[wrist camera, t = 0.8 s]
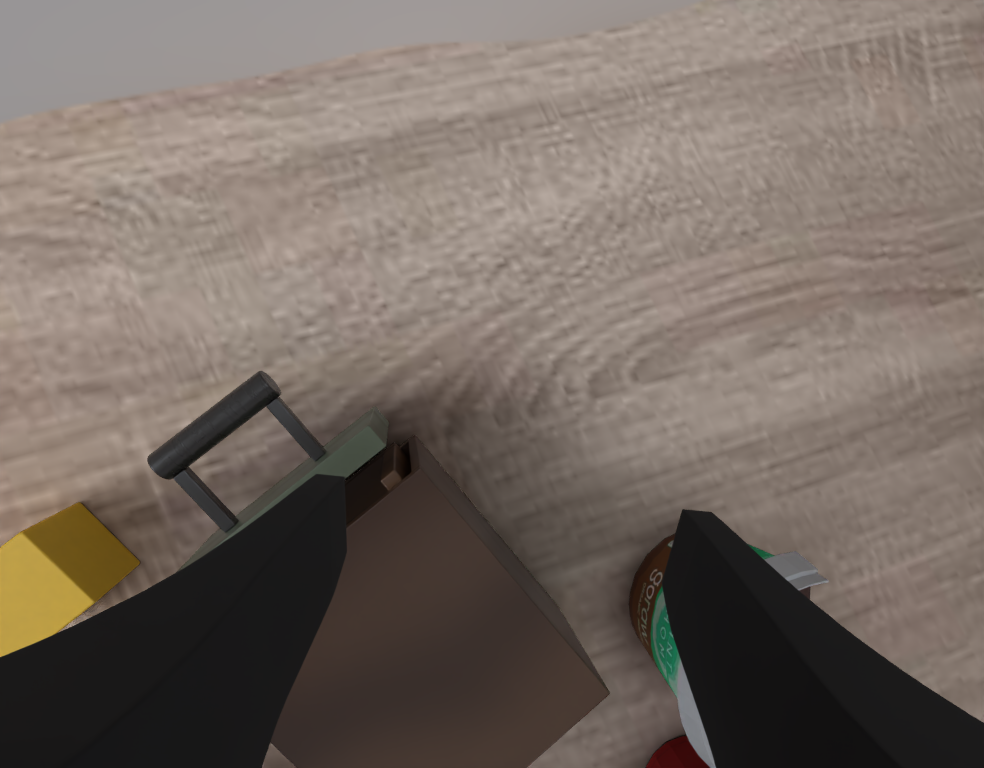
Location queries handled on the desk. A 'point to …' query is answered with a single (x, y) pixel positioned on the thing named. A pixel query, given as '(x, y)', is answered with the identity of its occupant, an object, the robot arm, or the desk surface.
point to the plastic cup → (676, 755)
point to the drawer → (328, 460)
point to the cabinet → (434, 645)
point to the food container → (658, 636)
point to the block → (56, 575)
